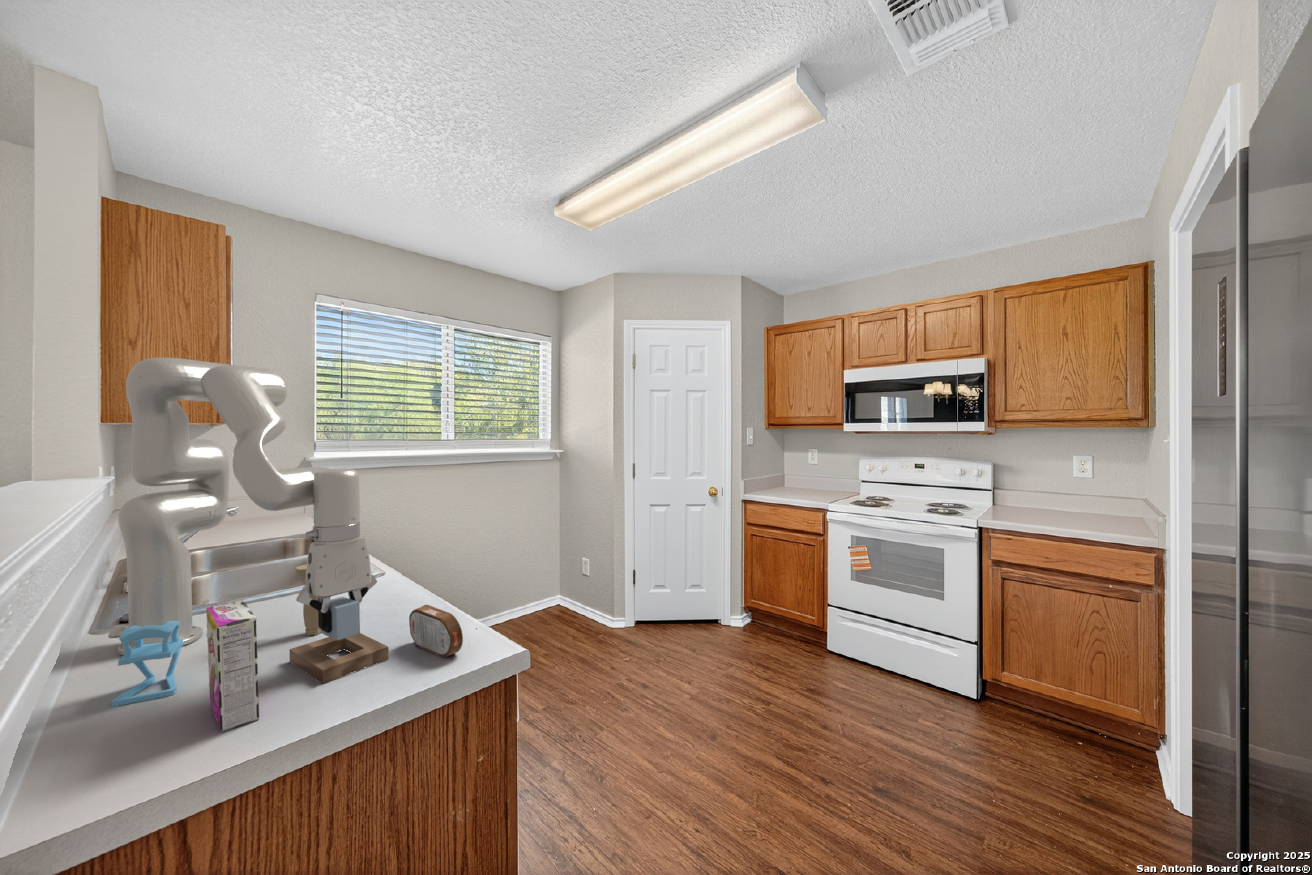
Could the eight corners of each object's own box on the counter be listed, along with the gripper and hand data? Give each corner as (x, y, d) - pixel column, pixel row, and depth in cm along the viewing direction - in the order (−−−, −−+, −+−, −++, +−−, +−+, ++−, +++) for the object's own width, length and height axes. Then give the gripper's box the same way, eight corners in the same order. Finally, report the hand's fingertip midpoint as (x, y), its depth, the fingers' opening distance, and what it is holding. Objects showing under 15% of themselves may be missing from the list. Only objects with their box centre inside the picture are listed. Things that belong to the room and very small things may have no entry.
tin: (464, 657, 99) (464, 615, 99) (450, 663, 97) (449, 620, 97) (420, 639, 108) (420, 600, 108) (406, 644, 105) (406, 604, 105)
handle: (334, 631, 111) (333, 564, 111) (299, 641, 107) (298, 570, 106) (328, 625, 115) (327, 560, 114) (294, 634, 110) (293, 566, 109)
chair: (190, 674, 93) (189, 609, 92) (174, 695, 85) (173, 624, 85) (132, 684, 89) (131, 617, 89) (110, 707, 82) (109, 633, 81)
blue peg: (337, 640, 94) (336, 608, 94) (321, 633, 98) (319, 602, 98) (360, 632, 97) (359, 601, 97) (343, 626, 101) (342, 596, 101)
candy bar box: (206, 706, 82) (204, 606, 81) (246, 694, 86) (244, 598, 85) (218, 734, 74) (215, 625, 74) (260, 720, 78) (258, 615, 78)
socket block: (322, 684, 89) (322, 663, 89) (289, 661, 97) (289, 642, 97) (388, 659, 98) (388, 640, 98) (353, 640, 107) (352, 623, 107)
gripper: (295, 544, 88) (297, 647, 89) (391, 527, 102) (392, 617, 102) (278, 538, 92) (281, 637, 93) (372, 523, 106) (374, 609, 107)
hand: (339, 625), depth 98 cm, fingers closed on blue peg, 4 cm apart
